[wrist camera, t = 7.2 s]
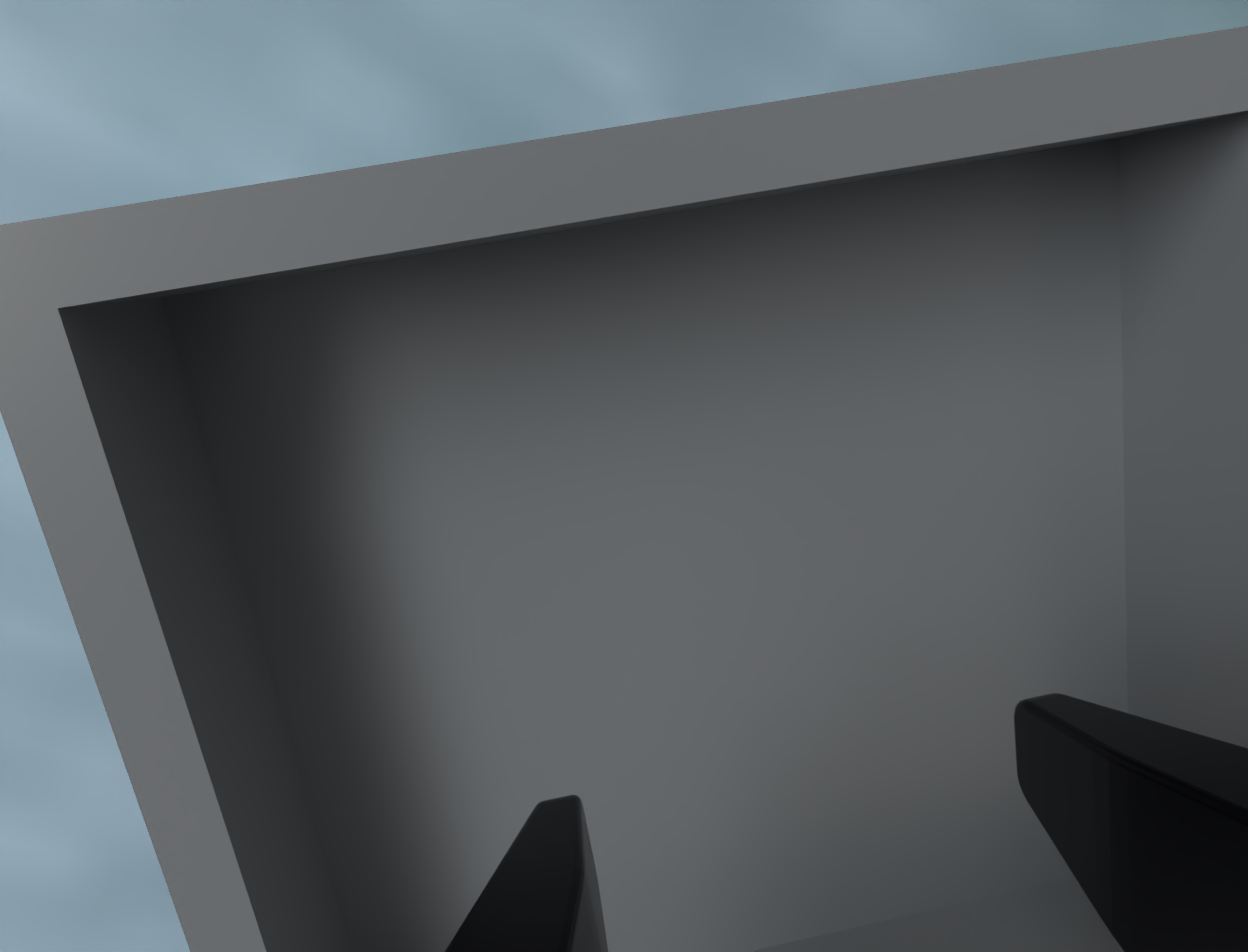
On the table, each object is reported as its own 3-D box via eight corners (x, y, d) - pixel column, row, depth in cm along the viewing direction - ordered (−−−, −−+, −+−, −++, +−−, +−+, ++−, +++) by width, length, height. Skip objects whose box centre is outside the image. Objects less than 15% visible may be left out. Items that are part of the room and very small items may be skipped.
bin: (1151, 871, 15) (1301, 1016, 12) (345, 1053, 14) (298, 1259, 11) (1144, 72, 12) (1347, 10, 9) (95, 241, 11) (-61, 234, 8)
